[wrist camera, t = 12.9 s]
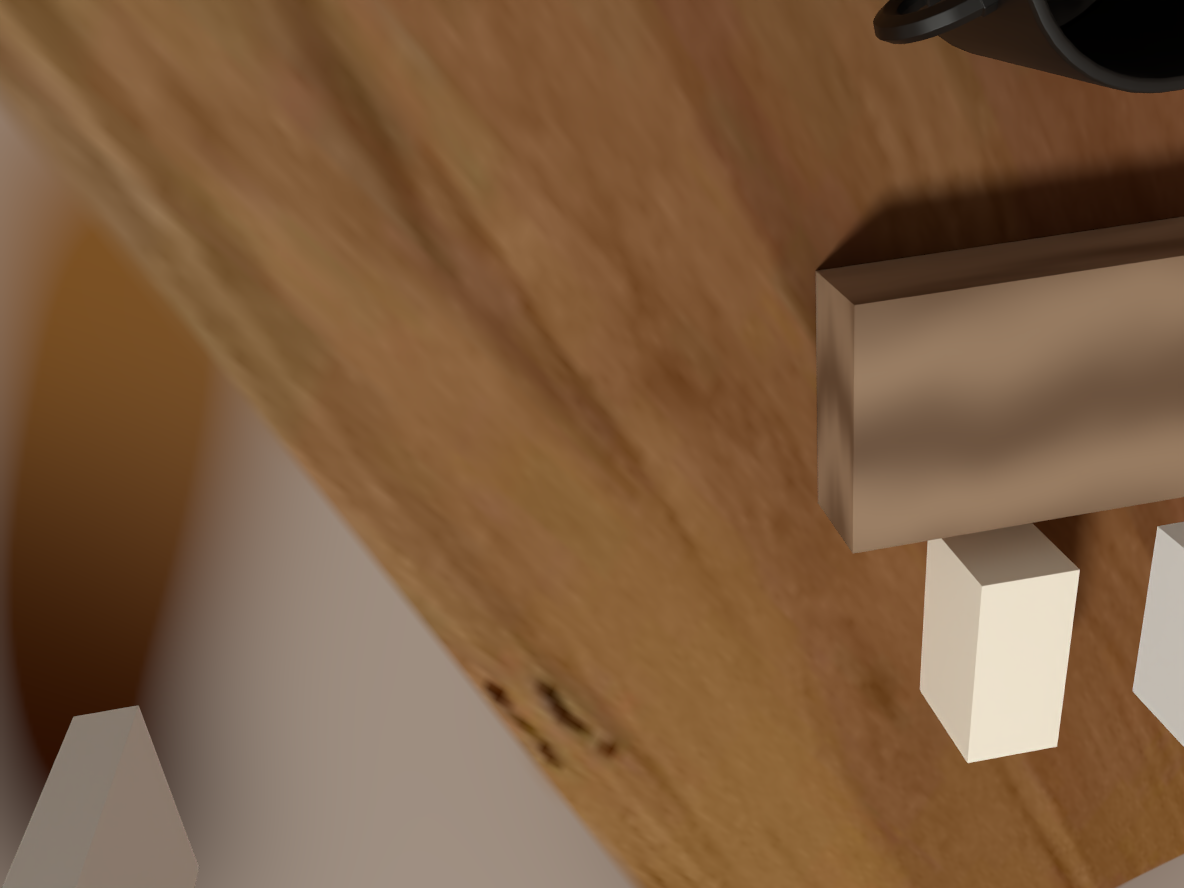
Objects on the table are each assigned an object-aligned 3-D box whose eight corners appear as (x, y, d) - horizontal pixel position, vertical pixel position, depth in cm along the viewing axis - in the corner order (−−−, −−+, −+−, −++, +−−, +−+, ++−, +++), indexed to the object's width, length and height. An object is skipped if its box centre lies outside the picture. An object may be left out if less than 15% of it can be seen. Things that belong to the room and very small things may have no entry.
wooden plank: (815, 270, 41) (854, 305, 37) (1313, 197, 42) (1396, 223, 39) (817, 503, 45) (853, 553, 42) (1268, 427, 47) (1338, 470, 43)
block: (981, 586, 42) (967, 768, 46) (1079, 569, 42) (1056, 751, 47) (927, 521, 47) (918, 693, 51) (1016, 507, 47) (1000, 678, 51)
